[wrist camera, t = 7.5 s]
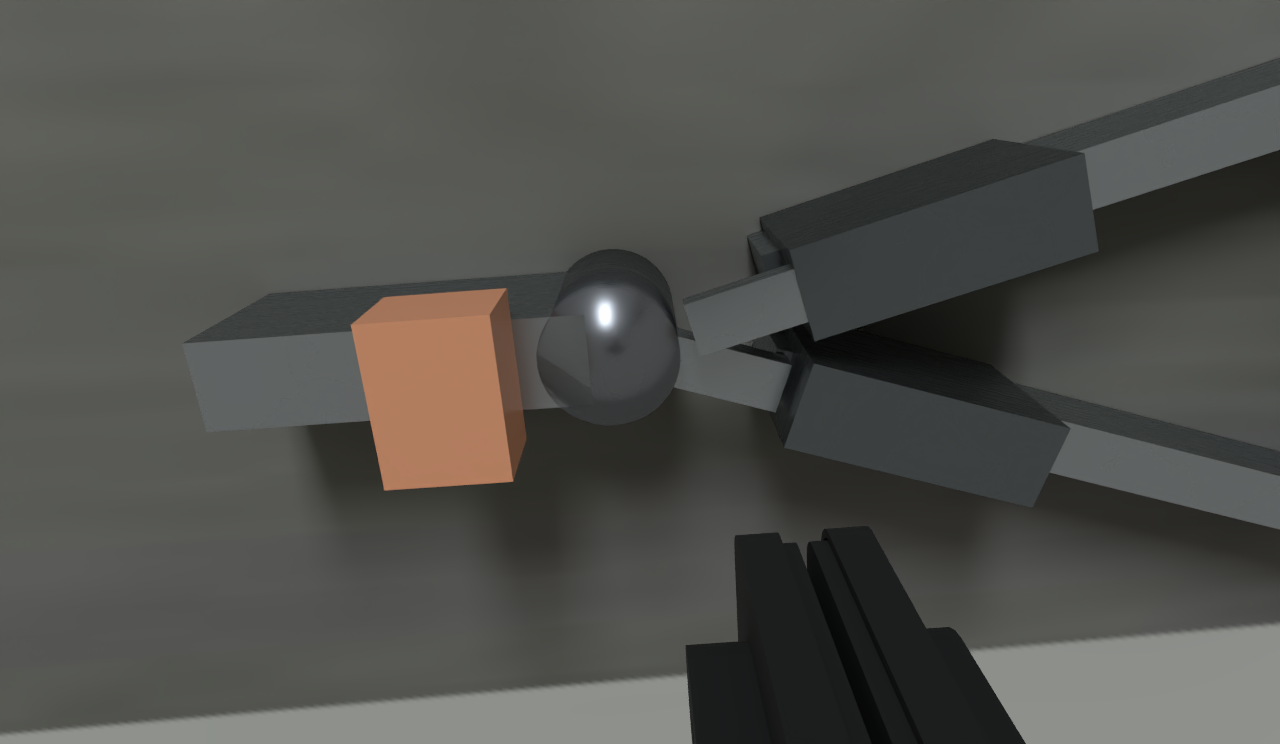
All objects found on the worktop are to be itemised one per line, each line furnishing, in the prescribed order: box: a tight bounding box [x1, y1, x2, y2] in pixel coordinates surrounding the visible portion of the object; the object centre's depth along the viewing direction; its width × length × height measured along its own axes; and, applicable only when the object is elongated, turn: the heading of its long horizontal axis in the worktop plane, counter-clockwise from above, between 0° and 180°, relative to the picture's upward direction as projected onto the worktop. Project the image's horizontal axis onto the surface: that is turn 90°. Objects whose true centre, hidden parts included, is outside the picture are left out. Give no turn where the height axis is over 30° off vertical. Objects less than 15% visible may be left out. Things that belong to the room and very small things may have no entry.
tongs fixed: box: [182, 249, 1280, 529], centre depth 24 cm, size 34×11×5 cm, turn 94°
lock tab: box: [351, 288, 527, 490], centre depth 19 cm, size 3×4×2 cm
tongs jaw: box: [683, 58, 1280, 356], centre depth 21 cm, size 23×2×5 cm, turn 109°
